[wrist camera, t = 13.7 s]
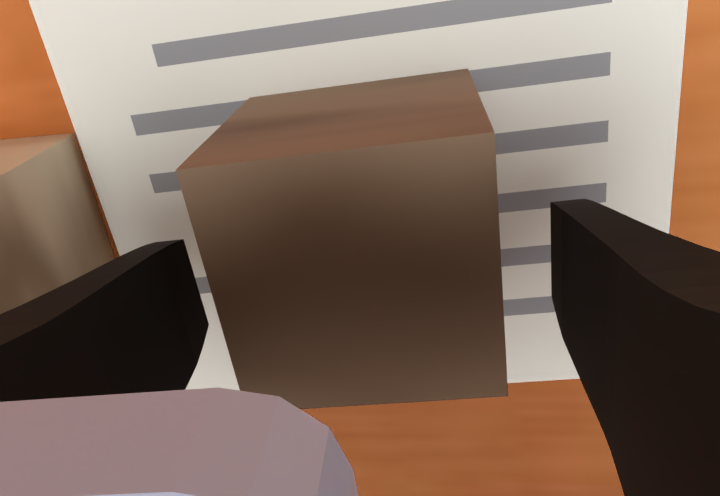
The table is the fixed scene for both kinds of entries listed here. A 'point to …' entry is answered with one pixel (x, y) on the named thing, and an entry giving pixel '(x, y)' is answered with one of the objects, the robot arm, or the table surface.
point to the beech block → (46, 218)
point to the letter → (371, 63)
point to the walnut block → (355, 242)
